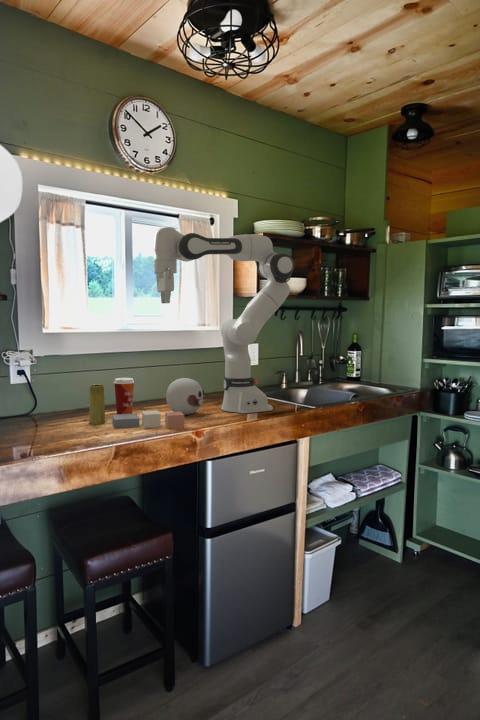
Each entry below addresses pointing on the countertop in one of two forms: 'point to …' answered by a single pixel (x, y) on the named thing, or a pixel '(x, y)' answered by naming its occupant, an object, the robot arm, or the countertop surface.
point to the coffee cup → (124, 395)
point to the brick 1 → (151, 419)
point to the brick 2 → (174, 420)
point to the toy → (184, 396)
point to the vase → (97, 404)
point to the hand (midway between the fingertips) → (165, 303)
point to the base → (125, 420)
